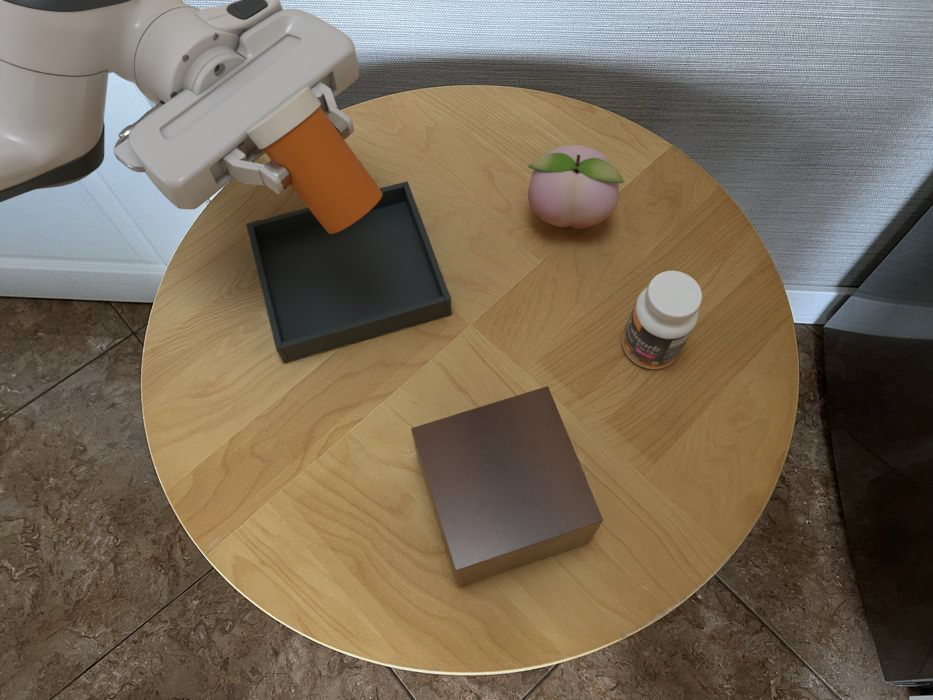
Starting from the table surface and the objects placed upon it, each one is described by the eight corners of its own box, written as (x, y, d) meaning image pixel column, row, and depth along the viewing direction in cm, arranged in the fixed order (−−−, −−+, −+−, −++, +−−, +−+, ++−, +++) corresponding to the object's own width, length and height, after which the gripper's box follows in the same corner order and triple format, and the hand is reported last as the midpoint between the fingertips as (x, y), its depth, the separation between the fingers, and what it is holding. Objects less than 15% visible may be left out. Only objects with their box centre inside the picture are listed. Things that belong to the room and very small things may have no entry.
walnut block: (457, 588, 64) (455, 570, 57) (417, 459, 69) (410, 428, 62) (589, 543, 65) (603, 520, 58) (540, 420, 70) (547, 385, 63)
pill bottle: (609, 343, 74) (627, 290, 65) (648, 309, 76) (671, 253, 67) (652, 382, 72) (677, 334, 63) (692, 346, 74) (721, 294, 65)
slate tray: (283, 363, 73) (276, 349, 71) (253, 240, 80) (245, 223, 77) (452, 314, 76) (451, 299, 73) (409, 199, 82) (407, 180, 79)
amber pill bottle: (324, 244, 60) (240, 138, 56) (328, 223, 66) (251, 125, 61) (385, 202, 59) (305, 91, 55) (384, 184, 65) (311, 81, 60)
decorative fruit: (610, 188, 83) (627, 122, 74) (612, 250, 79) (629, 189, 70) (524, 184, 83) (530, 118, 74) (522, 246, 79) (528, 184, 70)
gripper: (84, 118, 57) (203, 214, 53) (281, -21, 64) (399, 54, 60) (119, 173, 63) (229, 263, 59) (296, 40, 70) (406, 112, 66)
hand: (317, 156), depth 60 cm, fingers closed on amber pill bottle, 5 cm apart
